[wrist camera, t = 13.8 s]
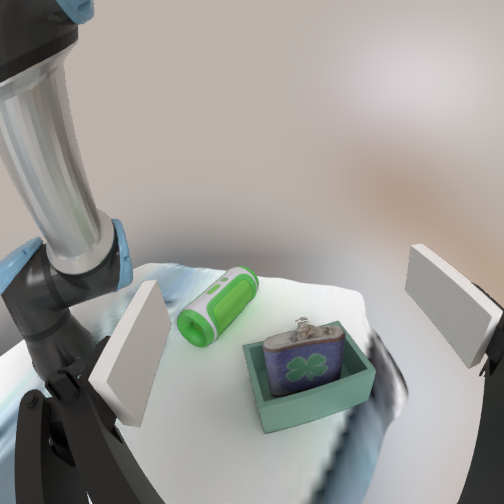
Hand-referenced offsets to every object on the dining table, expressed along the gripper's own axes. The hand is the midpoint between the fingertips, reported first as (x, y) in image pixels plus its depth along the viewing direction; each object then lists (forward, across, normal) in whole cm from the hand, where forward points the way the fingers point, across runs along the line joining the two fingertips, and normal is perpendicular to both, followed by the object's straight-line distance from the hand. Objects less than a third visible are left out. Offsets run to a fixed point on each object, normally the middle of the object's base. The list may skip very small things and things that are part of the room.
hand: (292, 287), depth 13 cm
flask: (+11, +2, -22) cm, 25 cm away
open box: (+11, +2, -23) cm, 26 cm away
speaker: (+29, -9, -24) cm, 39 cm away
